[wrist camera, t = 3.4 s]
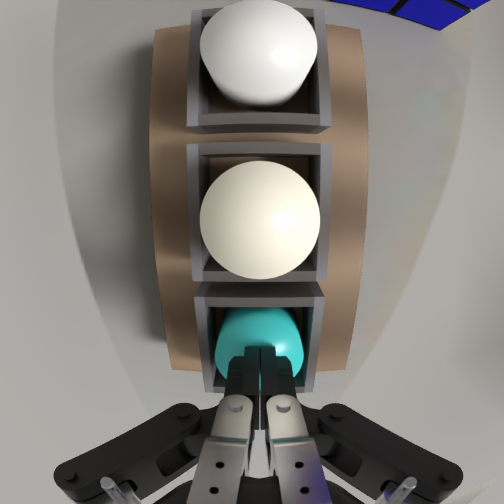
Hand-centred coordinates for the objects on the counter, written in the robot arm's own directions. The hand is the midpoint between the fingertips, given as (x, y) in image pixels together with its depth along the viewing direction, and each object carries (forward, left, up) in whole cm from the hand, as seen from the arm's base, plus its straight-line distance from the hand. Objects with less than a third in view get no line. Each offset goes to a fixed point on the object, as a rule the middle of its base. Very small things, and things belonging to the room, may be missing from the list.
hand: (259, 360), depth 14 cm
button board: (-7, 0, -7) cm, 10 cm away
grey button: (-14, 0, -2) cm, 14 cm away
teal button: (0, 0, -4) cm, 4 cm away
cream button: (-7, 0, -2) cm, 7 cm away
